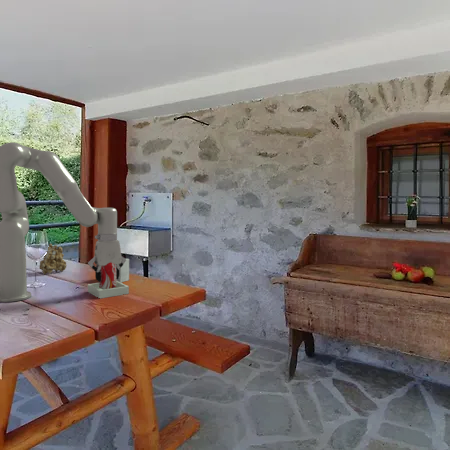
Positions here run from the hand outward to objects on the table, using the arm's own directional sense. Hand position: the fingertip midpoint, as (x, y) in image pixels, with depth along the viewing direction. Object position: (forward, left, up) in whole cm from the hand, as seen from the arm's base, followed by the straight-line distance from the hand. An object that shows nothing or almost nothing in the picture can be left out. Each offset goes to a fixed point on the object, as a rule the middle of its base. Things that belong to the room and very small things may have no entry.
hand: (107, 279), depth 165 cm
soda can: (0, 0, -4) cm, 4 cm away
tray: (0, 0, -6) cm, 6 cm away
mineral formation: (-8, +49, -6) cm, 50 cm away
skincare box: (+12, +18, -6) cm, 23 cm away
